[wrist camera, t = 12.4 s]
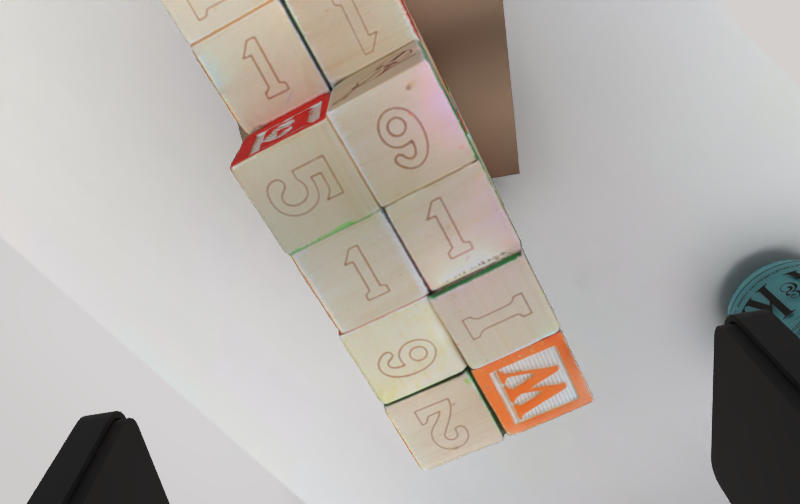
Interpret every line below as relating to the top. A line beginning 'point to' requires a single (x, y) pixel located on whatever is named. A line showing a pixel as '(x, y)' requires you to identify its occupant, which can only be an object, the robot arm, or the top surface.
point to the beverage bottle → (771, 293)
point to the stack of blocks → (388, 215)
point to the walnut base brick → (472, 72)
